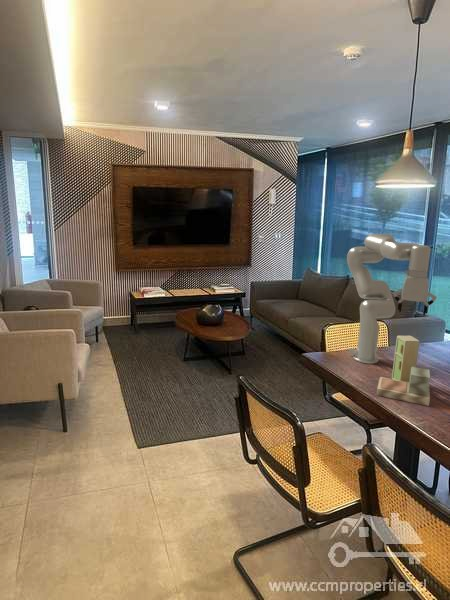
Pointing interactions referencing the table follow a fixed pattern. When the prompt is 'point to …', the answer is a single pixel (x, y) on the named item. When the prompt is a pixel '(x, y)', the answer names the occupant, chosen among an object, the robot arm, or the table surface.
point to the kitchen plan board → (407, 387)
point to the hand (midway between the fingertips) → (411, 313)
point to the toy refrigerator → (405, 357)
